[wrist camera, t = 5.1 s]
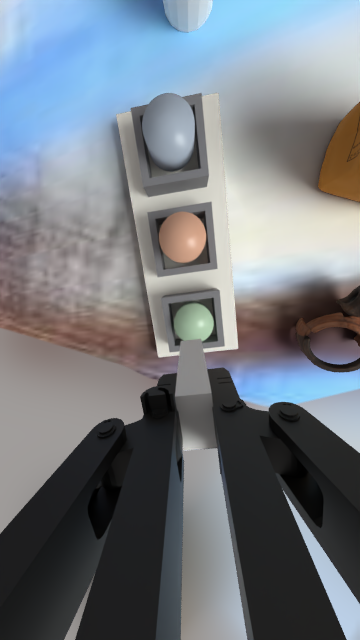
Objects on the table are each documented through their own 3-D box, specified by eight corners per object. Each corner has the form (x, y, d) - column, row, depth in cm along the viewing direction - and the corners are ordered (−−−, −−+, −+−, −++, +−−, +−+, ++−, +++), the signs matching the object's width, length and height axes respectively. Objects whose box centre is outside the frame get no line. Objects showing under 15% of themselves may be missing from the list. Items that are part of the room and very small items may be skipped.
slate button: (144, 122, 21) (137, 99, 18) (191, 113, 21) (191, 87, 18) (152, 175, 22) (147, 160, 20) (196, 167, 22) (197, 151, 19)
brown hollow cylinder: (354, 356, 31) (365, 390, 25) (289, 336, 35) (284, 361, 29) (399, 282, 26) (428, 302, 19) (315, 269, 30) (316, 281, 23)
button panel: (121, 126, 25) (105, 91, 20) (216, 106, 24) (222, 65, 19) (160, 352, 32) (155, 366, 27) (235, 343, 31) (243, 357, 26)
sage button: (173, 303, 27) (171, 307, 25) (209, 298, 27) (211, 302, 24) (178, 337, 29) (176, 345, 26) (212, 333, 28) (215, 340, 25)
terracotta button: (159, 222, 24) (155, 215, 21) (201, 216, 23) (203, 207, 20) (166, 266, 25) (162, 265, 22) (206, 260, 24) (208, 258, 21)
